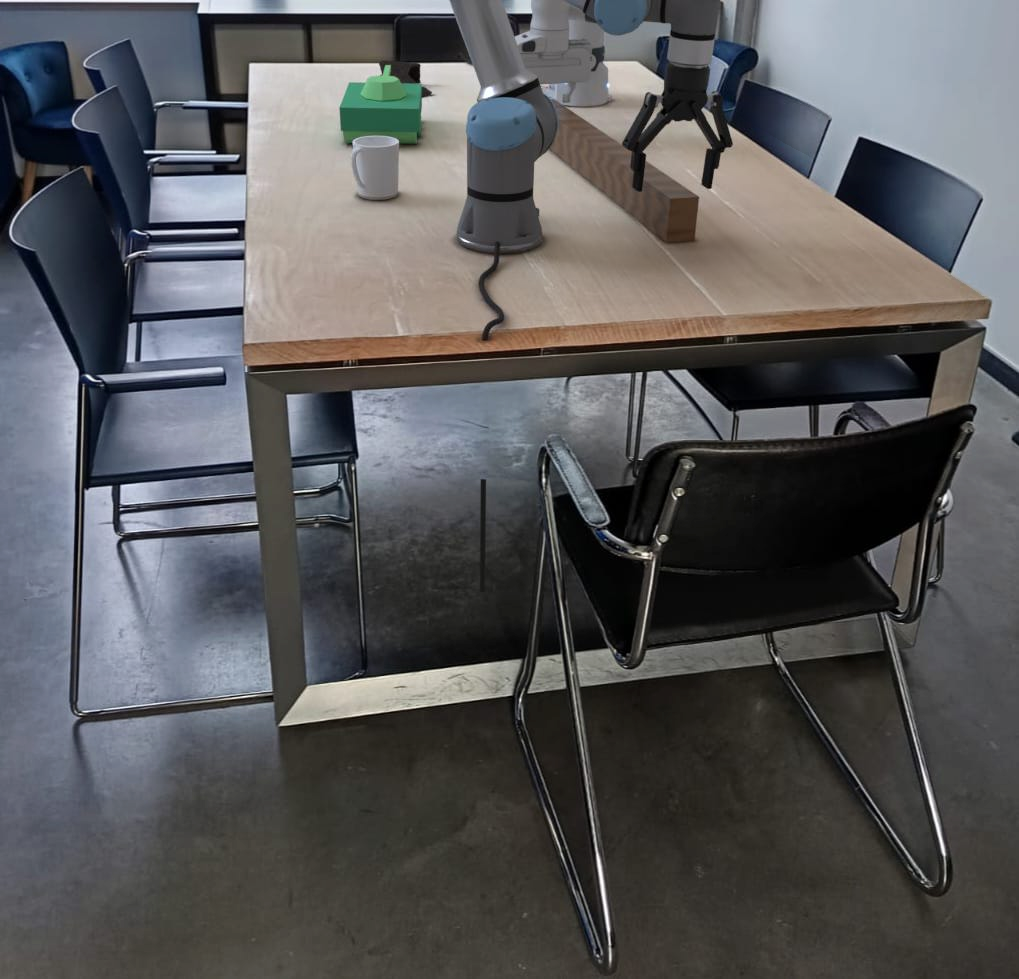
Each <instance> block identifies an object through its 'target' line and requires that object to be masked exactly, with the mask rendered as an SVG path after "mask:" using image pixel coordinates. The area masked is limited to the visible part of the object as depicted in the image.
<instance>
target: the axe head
mask: <svg viewBox="0 0 1019 979" xmlns="http://www.w3.org/2000/svg"><path fill="white" fill-rule="evenodd" d="M385 65H391V73H390V76H395V77H396V78H398V79H399V80H400V82H401V83H410V84H422V82H421V63H419V62H410V61H408V62H407V61H397V60H388V59H387V60H380V61H379V62H378V66H379V68H380V72H381V74H379V76H381V75H383V72H384V68H385ZM432 94H433V91H431V90H430V89H428V88H427V87H425V86H422V97H425V96H429V95H432Z"/></svg>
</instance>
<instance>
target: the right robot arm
mask: <svg viewBox="0 0 1019 979" xmlns="http://www.w3.org/2000/svg"><path fill="white" fill-rule="evenodd" d="M530 8H531V12H532V14H531V15H532V16H531V20H530V24H529V25H530V26H529V28H530V29H529V30H527V31H525V32H522V33H520V34H518V35H514V37H515V39H516V42H517V45H518V48H519V51H520V54H521V57H522V60H523V62H524V65H525V68H526V69H527V70H528V71H530V72H532V73H534V74H536V75H537V77H538V80H539V83H540V86H541V85H548V86H545V87H541V88H542V91H543V93H544V94H545V95H547V96H548V97H549V98H550V99H555V100H556V101H558V102H559V103H560V104H562V105H563V106H569V107H597V106H602V105H605V104H606V103H607V102H611V101H613V98H614V97H613V95H610V94H609V88H610V83H609V68H608V66H606V65H605V62H604V61H605V55H606V49H605V48H606V47H605V45H604V43H605V42H604V40H605V31H603V30H602V29H601V28H600V26H599V25H598V23H597V21H596V20H595V19H593V18H591V17H589V16H588V15H586V14H585V13H583V12H581V11H579V10H578V9H576V8H574V7H572V6H571V5H569V4H567V3H565V2H563V1H562V0H530ZM457 58H458V59H459V58H461V60H462V61H464V62H466V63H468V64H470V65H472V66H473V64H472V61H471V59H468V58H466V57H465V56H464V54H463V53H462V52H459V53H458V54H457Z"/></svg>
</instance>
